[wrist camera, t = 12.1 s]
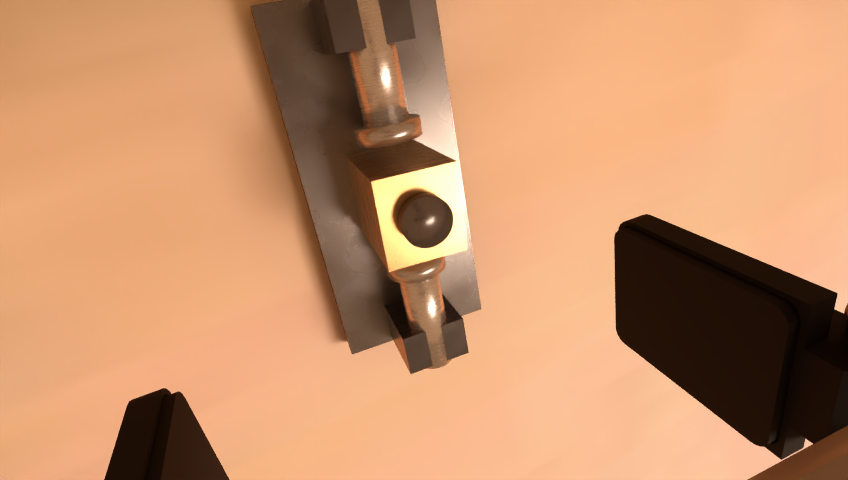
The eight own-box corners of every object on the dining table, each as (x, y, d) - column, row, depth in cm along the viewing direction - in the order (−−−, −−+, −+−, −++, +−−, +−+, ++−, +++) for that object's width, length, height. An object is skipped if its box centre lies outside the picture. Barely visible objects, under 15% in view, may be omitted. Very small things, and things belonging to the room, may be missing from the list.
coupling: (345, 156, 26) (375, 186, 20) (415, 140, 27) (464, 164, 21) (361, 230, 28) (393, 279, 22) (426, 213, 29) (474, 255, 23)
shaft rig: (250, 8, 23) (251, -6, 18) (422, -21, 26) (469, -41, 20) (347, 341, 32) (368, 400, 26) (472, 299, 34) (514, 345, 28)
